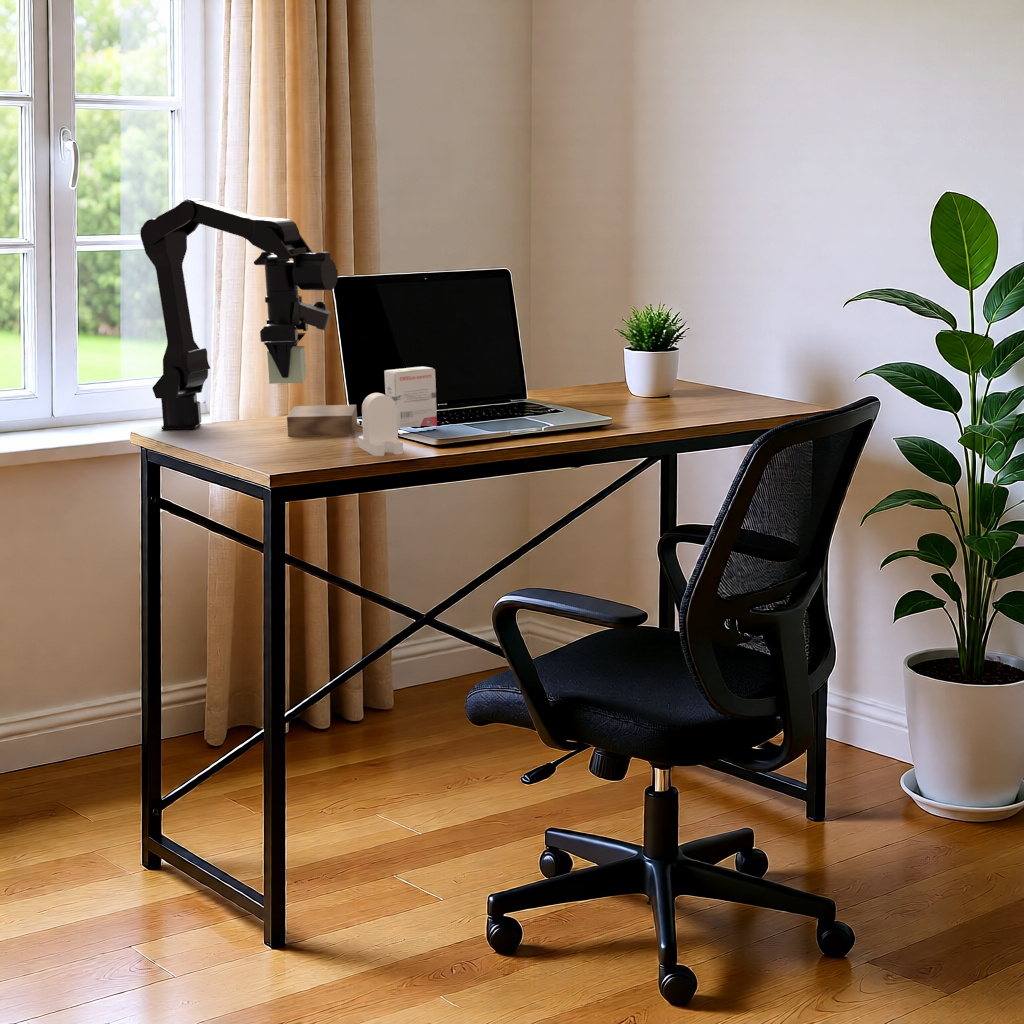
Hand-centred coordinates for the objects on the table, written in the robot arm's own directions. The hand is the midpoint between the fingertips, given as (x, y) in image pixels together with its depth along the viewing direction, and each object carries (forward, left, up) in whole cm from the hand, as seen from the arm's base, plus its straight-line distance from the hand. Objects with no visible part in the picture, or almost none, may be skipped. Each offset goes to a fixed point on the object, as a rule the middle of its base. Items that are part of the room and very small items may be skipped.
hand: (287, 375), depth 257 cm
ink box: (+23, +1, -11) cm, 25 cm away
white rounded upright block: (+18, -16, -12) cm, 27 cm away
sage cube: (0, 0, -1) cm, 1 cm away
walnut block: (+6, +5, -12) cm, 14 cm away
